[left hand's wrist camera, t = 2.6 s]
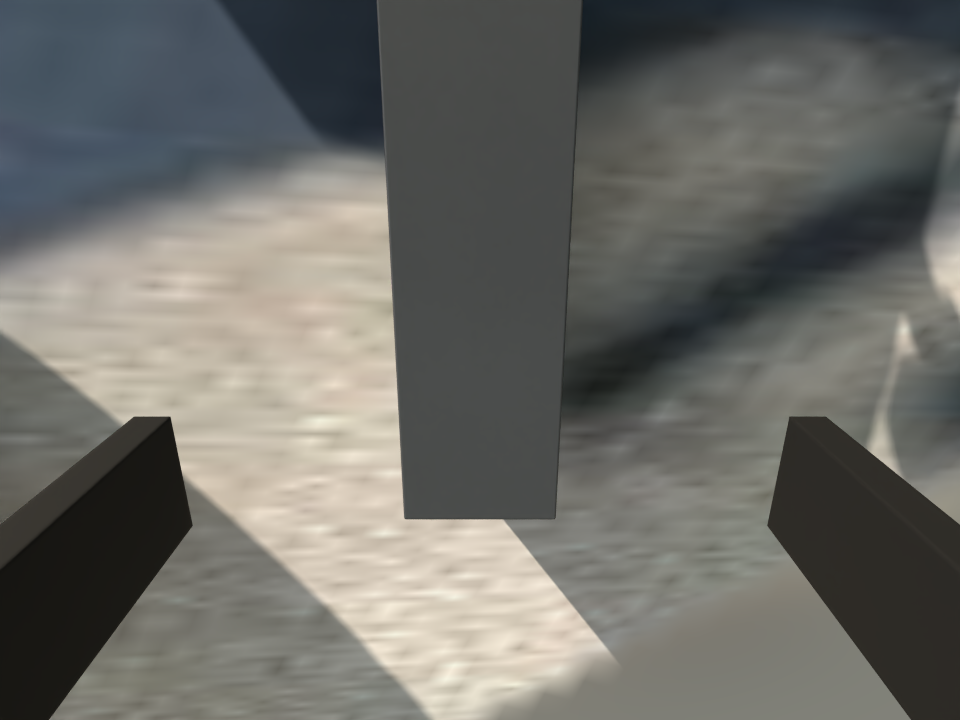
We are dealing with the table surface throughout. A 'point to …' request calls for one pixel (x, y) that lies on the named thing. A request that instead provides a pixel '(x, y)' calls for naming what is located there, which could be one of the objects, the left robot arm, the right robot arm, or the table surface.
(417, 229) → the beam
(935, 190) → the table surface
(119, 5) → the table surface
